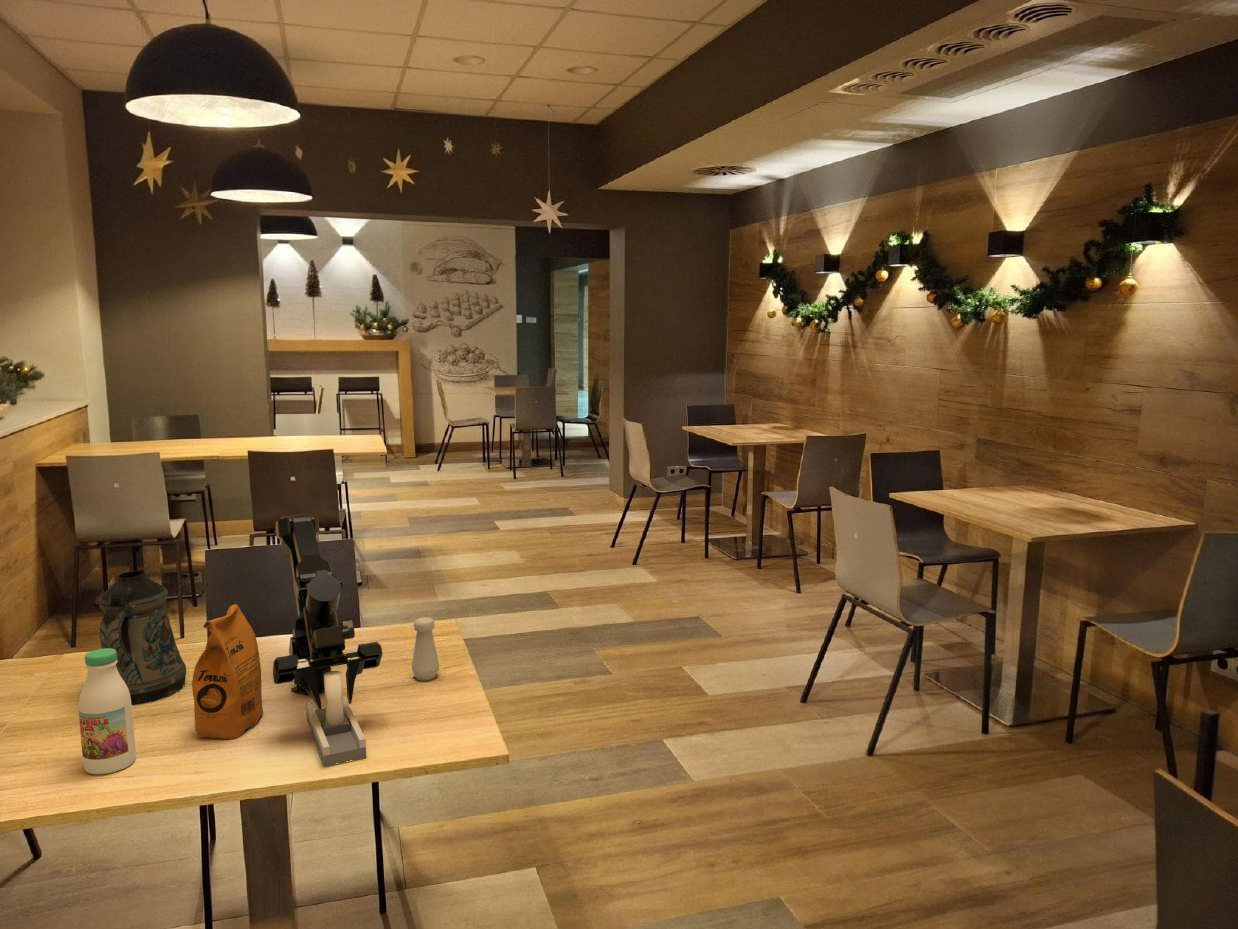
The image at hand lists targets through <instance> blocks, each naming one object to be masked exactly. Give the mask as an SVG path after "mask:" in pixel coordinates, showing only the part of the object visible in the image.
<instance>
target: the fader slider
mask: <svg viewBox="0 0 1238 929" xmlns="http://www.w3.org/2000/svg"><path fill="white" fill-rule="evenodd" d="M324 687H325V691H324V701H325V702H324V703H325V705H324V706H325V707H324V708H326V719H323V720H321V727H322V729H323V732H324V734H325V736H327V735H332V734H337V733H342V732H347V731H350V723H349V721H348V719H347V717H346V715H343V697H344V696H343V678H342V671H338V670H331V671H330V672H327V673H325V674H324Z"/></svg>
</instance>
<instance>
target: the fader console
mask: <svg viewBox="0 0 1238 929" xmlns="http://www.w3.org/2000/svg"><path fill="white" fill-rule="evenodd" d="M305 706H306V722H307V724H308V727H309V730H310V733H311V735H312V738H313V741H314V744H315V746H316V749H317V752H318V754H319V757H320V756H321V757H320V760H321V763H322V762H323V763H322V766H323V767H324V768H326V767H325V766H327V767H330V766H329V765H332V766H335V765H334V764H336V763H341V764H344V763H343V762H345V763H347V762H346V761H350V760H355V761H358V759H359V760H363V758H364V759H367V743H366V737H365V735H364V733H363V731H362V729H361V727H360V725H359V723H358V721H357V719H356V716H354V713H353V711H352V709H351V707H350V704H349V702H348V700H347V699H346V697H345V696H343V715H346V717H347V719H348V721H349V723H350V731H347V732H342V733H337V734H332V735H327V736H325V734H324V732H323V729H322V727H321V720H323V719H326V707H323V708H321V709H320V710H319V709H318V708H317V709H315V707H314V704H313V703H312V702H309V703H306V705H305ZM350 762H351V761H350ZM336 765H337V764H336Z"/></svg>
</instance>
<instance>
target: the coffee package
mask: <svg viewBox="0 0 1238 929" xmlns="http://www.w3.org/2000/svg"><path fill="white" fill-rule="evenodd" d="M203 628H204V629H209V632H210V635H209V636H208V638H207V640H206V641H207V642H206V644H205V649H204V651H202V653H201V654H200V656H199V658H198V660H197V662H196V664H195V666H194V669H193V673H192V680H191V687H192V697H193V707H194V712H193V713H194V732H195V733H196V734H197V735H198V737H199V738H202V739H205V738H210V739H221V740H228V739H231V740H233V739H238V738H241V736H242V735H243V733H245V731H246V729H248V728H251V727H254V726H255V725H257V723H258V722H259V719H260V717H262V715H263V714H264V710H263V708H264V707H263V697H262V696H263V695H262V692H263V691H262V689H263V688H262V687H263V686H262V665H261V659H260V651H259V645H258V641H257V636H256V633H255V632H254V629H253V627H252V626H251V625H250V623H249V622H248V620H247V618H246V617H245V615H244V613H243V612H242V610H241V609H240V607H239V605H238V604H232V605H230V606H229V607H228V609H227V612H226V615H224V616H222V617H221V616H220V617H217V618H214V619H211V620H207V621H205V623H204V624H203Z"/></svg>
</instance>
